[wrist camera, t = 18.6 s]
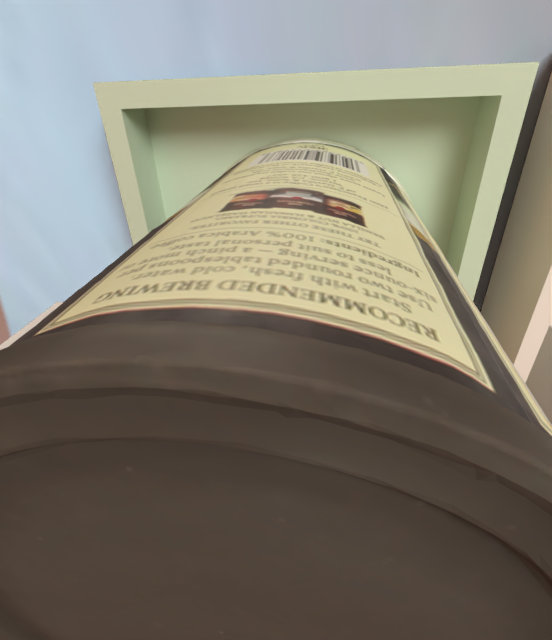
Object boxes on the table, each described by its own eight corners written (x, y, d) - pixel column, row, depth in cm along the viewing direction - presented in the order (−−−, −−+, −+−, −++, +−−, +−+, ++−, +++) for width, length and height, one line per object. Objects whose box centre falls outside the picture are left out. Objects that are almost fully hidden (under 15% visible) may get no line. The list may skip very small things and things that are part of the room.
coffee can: (250, 369, 21) (138, 736, 9) (154, 193, 16) (-319, 472, 5) (444, 323, 18) (657, 795, 6) (391, 87, 13) (866, 103, 1)
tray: (506, 65, 13) (539, 61, 11) (431, 376, 20) (442, 410, 18) (127, 83, 15) (93, 82, 13) (185, 361, 22) (169, 391, 20)
